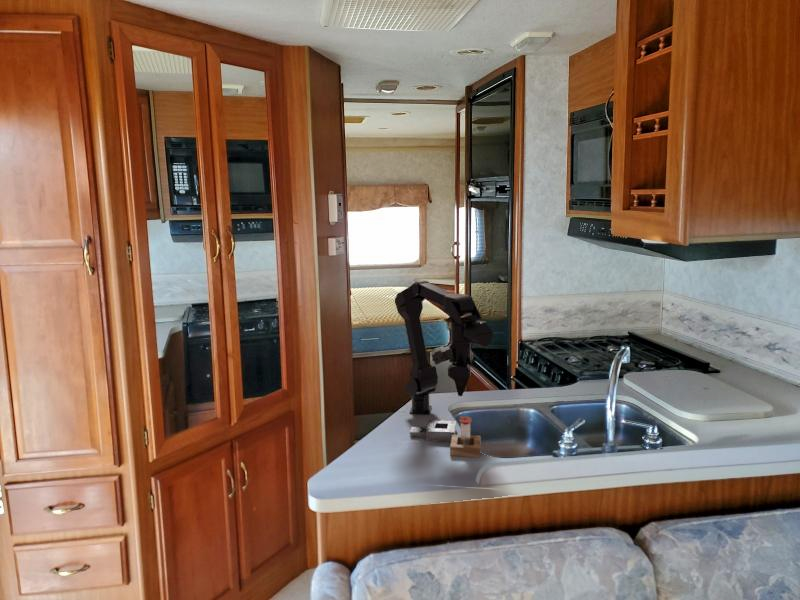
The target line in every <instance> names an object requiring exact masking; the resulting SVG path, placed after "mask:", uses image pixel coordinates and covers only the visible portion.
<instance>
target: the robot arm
mask: <svg viewBox="0 0 800 600" xmlns="http://www.w3.org/2000/svg"><path fill="white" fill-rule="evenodd" d="M426 299H427V300H428V301H430V302H432V303H434V304H436V305H438V306H441V307H442V308H443V311H444V312H445V314H447V315H448V316H449V317H447V318H446V320H445V322H446V323H449V324H450V342H449V343H450V344H448V345H447V346H444V347H440V348H437V349H434V350H432V352H431V354H430V355H431V360H432V362H433V363H434V365H431V363H430V362H429V359H428V353H427V349H426V344H425V343H426V342H425V338H424V337H425V336H424V333H423V327H422V322H421V315H422V313H423V312H422V311H423V309H424V307H423V305H424V304H423V302H424V301H425V300H426ZM394 304H395V306H396V310H397V314H398V315H400V317H402V319H403V320H404V325H405V330H406V336H407V341H408V346H409V352H410V356H411V361H412V365H411V369H410V372H409V382H408V383H407V384H406V385H405V386H404V391H405V394H406V395H408V396H410V397H411V407H410V410H409V414H411V415H430V414H431V411H432V405H430V393H435V392H436V390H437V389H436V388H437V385H438V383H439V381H438V379H439V377H438V373H437V368H436V366H437V365H440V363H444V362H447V361H449V363H450V365H448V368H447V377H449V378H450V379H452V380H454V384H455V388H456V392H457V396H458V397H463V395H464V392H465V390H466V387H467V385H468V384H469V383H468V382H469V381H470V378H471V374H472V365H473V361H474V352H473V351H472V345H473V344H474V345H477V346H480V347H482V348H483V347H487V346H488V345H490V344H491V342H492V340H493V337H494V333H493V330H492V329H491V327H490V326H488V321H486V320H485V321H483V320H482V315H481V313H480V312H479V310H478V308H477V306H476V303H475V301H474V299H473V297H472V296H471V295H468V294H463V293H451V291H450V292H449V291H448V290H445V289H444V288H441V287H439V286H437V285H434V284H432V283H430V281H428V280H420V281H415V282H414V283H412V284H411V285H410V286H408V287H406V288H405V289H403V290H402V291H400V292H397V294H396V297H394ZM435 365H436V366H435Z"/></svg>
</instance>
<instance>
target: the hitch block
mask: <svg viewBox="0 0 800 600" xmlns="http://www.w3.org/2000/svg"><path fill="white" fill-rule="evenodd" d="M409 434H410V435H409V437H410V438H426V439H425V440H426V441H427V442H445V443H451V439H452V435H457V420H442V419H441V420H439V419H429V420H428V424H427V426H426V427H422V426H421V427H420V426H411V428H410V431H409Z"/></svg>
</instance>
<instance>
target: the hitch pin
mask: <svg viewBox="0 0 800 600" xmlns="http://www.w3.org/2000/svg"><path fill="white" fill-rule="evenodd" d="M459 423H460V435H461V445H470V435H471V423H472V417H470V416H460V417H459Z"/></svg>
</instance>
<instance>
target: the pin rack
mask: <svg viewBox="0 0 800 600" xmlns="http://www.w3.org/2000/svg"><path fill="white" fill-rule="evenodd" d="M481 440H482V437H481V435H471V434H470V445H461V434H456V435H452V439H451V442H450V446H449V456H453V457H468V458H469V457H470V458H471V457H472V458H475V457H476V458H480V457H481V446H482V443H481V442H482V441H481Z"/></svg>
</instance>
